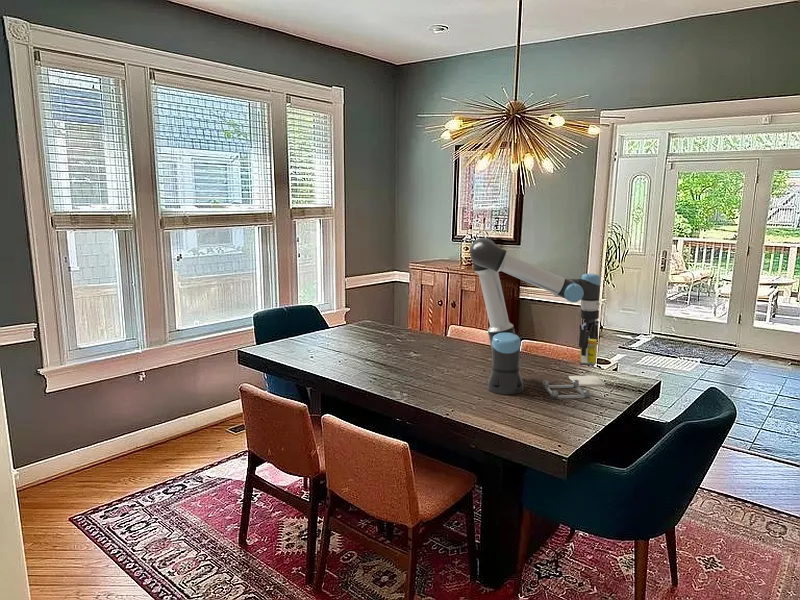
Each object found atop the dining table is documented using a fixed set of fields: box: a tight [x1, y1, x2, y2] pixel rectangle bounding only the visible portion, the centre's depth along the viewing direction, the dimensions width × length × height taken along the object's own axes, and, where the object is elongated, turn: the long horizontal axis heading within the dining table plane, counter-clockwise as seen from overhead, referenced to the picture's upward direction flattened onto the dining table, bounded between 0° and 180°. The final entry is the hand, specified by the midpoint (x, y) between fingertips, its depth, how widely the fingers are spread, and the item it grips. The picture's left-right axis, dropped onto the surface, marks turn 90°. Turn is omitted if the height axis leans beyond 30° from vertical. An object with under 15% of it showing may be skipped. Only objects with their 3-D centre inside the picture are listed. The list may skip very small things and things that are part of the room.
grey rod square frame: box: [542, 379, 591, 400], centre depth 229 cm, size 15×15×3 cm
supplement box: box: [579, 339, 598, 367], centre depth 241 cm, size 6×6×11 cm
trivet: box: [568, 375, 606, 387], centre depth 243 cm, size 12×12×1 cm
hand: (588, 360), depth 242 cm, fingers closed on supplement box, 7 cm apart
